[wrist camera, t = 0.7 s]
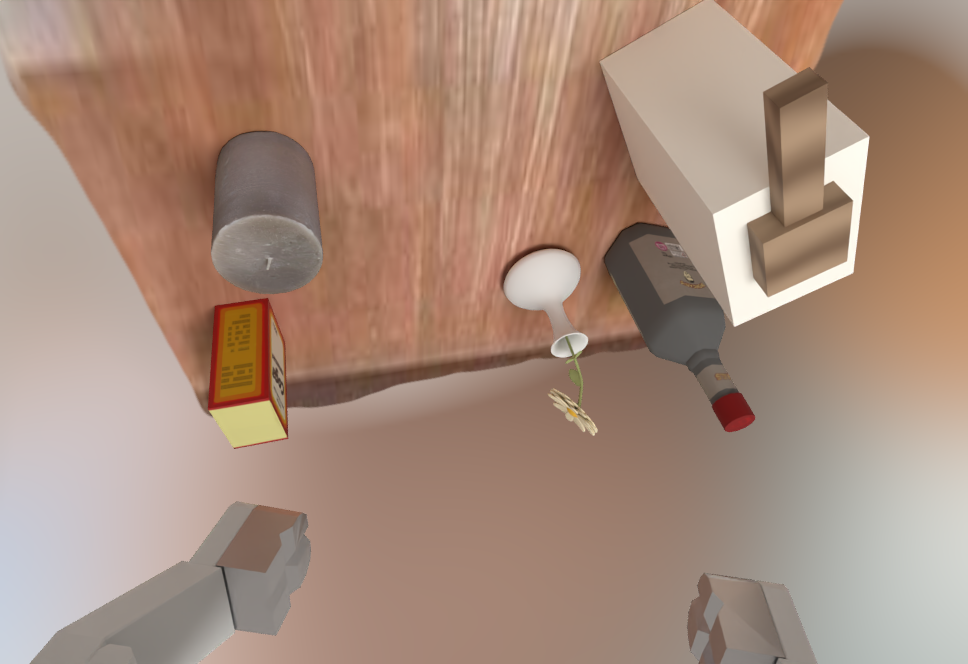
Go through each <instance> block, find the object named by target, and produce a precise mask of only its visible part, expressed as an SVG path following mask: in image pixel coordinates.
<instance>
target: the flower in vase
mask: <svg viewBox="0 0 968 664" xmlns="http://www.w3.org/2000/svg"><path fill="white" fill-rule="evenodd" d="M580 272H581V267H580V263H579V261H578V259H577V258H576V257H575V256H574V255H572V254H571V253H569V252H567V251H564V250H560V249H544V250H539V251H536V252H533V253H531V254H528V255H526V256H525V257H523V258H522V259H520V260H519V261H518V262H517V263H515V264H514V265H513V267H512V268H511V269H510V270H509V272H508V274H507V276H506V278H505V281H504V293H505V295H506V297H507V298H508V299H509V300H510V301H511V302H512V303H513V304H514V305H516V306H518V307H520V308H524V309H528V310H545V311H546V313H547V314H548V316H549V318H550V321H551V324H552V328H553V333H554V341H553V344H552V347H551V353H552V354H553V355H554V356H556V357H569V356H573V357H572V358H570V359H569V360H567V361H566V363H569V362H571V361H572V360H574V362H575V364H576V367H577V370H578V372H577V371H576V370H573V369H570V370H569V376H570V379H571V380H572V381H573V382H574V383H575V384H576V385H577V386H580V393H579V400H578V404H576V403H575V402H573V401H572V400H571V399H570V398H569V397H568V396H567V395H565V394H563V393H562V392H560V391H558V390H556V389H554V388H552V389H553V390H550V392H551V394H548V396H549V397H551V398H552V399H553V400H555V401H556V402H558V403H556V402H554V403H553V405H554V406H555V407H557V408H559V409H561V411H562V412H564V413H566V414H565V417H566V418H567V419H568V420H569V421H572V420H574V422H575V423H576V424H577V425H578V426H579V428H580V429H581V430H582V431H583V432H585V428H586V429H587V430H588V431H589V432H590V433H591V434H592V435H593V436H594V435H595V433H596V432H597V428H596V426H595V424H594V423H593V421H592V420H591V419H590V417H589V416H588V415H587V414H586V413H585V412H584V411H583V410H582V409H581V407H580V406H581V400H582V391H583V380H582V376H581V372H580V368H579V365H578V362H577V360H576V358H577V357H578V356H579V355H580V354H581V352H582V351H581V350H583V349H584V348H585V347H586V345H587V343H588V338H587V336H586V335H585V334H583V333H580V332H578V331H577V330H576V329H575V328H574V327H573V326H572V325H571V323H570V321H569V320H568V318H567V316H566V314H565V312H564V309H563V305H562V302H563V301H564V300H565V299H566V298H568V297H569V296H570V295H571V293H572V292H573V291H574V289H575V288H576V286H577V284H578V282H579V279H580ZM584 427H585V428H584Z"/></svg>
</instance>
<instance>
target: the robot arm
mask: <svg viewBox="0 0 968 664" xmlns="http://www.w3.org/2000/svg"><path fill="white" fill-rule="evenodd" d="M307 527H308V521H307V515H306V514H304V513H301V512H295V511H290V510H284V509H279V508H273V507H268V506H261V505H255V504H249V503H243V502H235V503H234V504H232V505H231V506H230V507H229V508H228V509H227V510H226V512H225V513H224V515H223V516H222V517H221V518H220V520H219V521H218V523H217V524H216V525H215V527H214V528H213V529H212V531H211V532H210V534H209V535H208V536H207V538H206V539H205V540H204V542H203V543H202V544H201V546H200V547H199V549H198V550H197V551H196V553H195V554H194V555H193V557H192V558H191V559H190V561H189V562H184V561H181V562H179V563H178V564H176V565H174V566H172V567H171V568H169V569H167V570H166V571H163V572H162V573H160V574H158V575H156V576H155V577H153V578H151V579H149V580H148V581H146V582H144V583H142V584H140V585H139V586H137V587H135V588H134V589H132V590H130V591H128V592H126V593H125V594H123V595H121V596H119V597H118V598H116V599H114V600H112V601H111V602H109V603H107V604H105V605H103V606H102V607H100V608H98V609H96V610H95V611H93V612H91V613H89V614H88V615H86V616H84V617H82V618H81V619H79V620H77V621H75V622H73V623H72V624H70V625H68V626H66V627H65V628H63V629H61V630H59V631H58V632H57V633H56V634H55V635H54V636H53V637H52V638H51V640H50V641H49V642H48V643H47V644H46V645H45V646H44V648H43V649H42V650H41V651H40V652H39V653H38V655H37V656H36V657H35V658H34V659H33V660H32V661H31V663H30V664H198V663H199V662H200V661H201V660H203V659H204V658H205V657H206V656H207V655H208V654H210V653H211V652H212V651H213V650H215V649H216V648H217V647H218V646H220V645H221V644H222V643H223V642H224V641H225V640H226V639H228V638H229V637H230V636H231V635H233V634H234V633H235V630H240V631H247V632H255V633H261V634H269V635H277V633H278V631H279V629H280V627H281V625H282V623H283V621H284V619H285V617H286V615H287V613H288V611H289V609H290V607H291V604H290V596H289V595H290V594H291V593H292V592H294V591H295V590H297V589H298V588H300V586H301V584H302V582H303V580H304V578H305V576H306V573H307V569H308V566H309V562H310V554H311V546H310V541H309V539H308V538H307V537H306V536H305V535H304V533H305V531H306V529H307ZM697 587H698V592H699V597H697V598H696V599H694V600H692V602H691V605H690V609H689V612H688V624H687V629H688V641H689V646H690V651H691V653H692V654H693V655H694V656H695V657H696V659H697V660H698V661H699V664H817V661H816V658H815V656H814V653H813V651H812V648H811V646H810V643H809V641H808V638H807V636H806V633H805V631H804V628H803V626H802V623H801V621H800V618H799V616H798V613H797V611H796V608H795V606H794V603H793V601H792V598H791V595H790V593H789V591H788V589H787V588H786V587H785V586H784V584H777V583H770V582H764V581H755V580H752V579H744V578H737V577H730V576H723V575H716V574H708V573H703V575H702V576H701V577H700V579H699V582H698V585H697Z"/></svg>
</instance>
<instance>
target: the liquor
mask: <svg viewBox="0 0 968 664" xmlns="http://www.w3.org/2000/svg"><path fill="white" fill-rule="evenodd" d="M605 264H606V266H607V269H608V271H609V274H610V276H611V277H612V279H613V281H614V283H615V285H616V287H617V289H618V291H619V293H620V295H621V297H622V299H623V301H624V302H625V304H626V306H627V308H628V310H629V312H630V314H631V316H632V318H633V320H634V322H635V324H636V326H637V327H638V329H639V331H640V333H641V335H642V337H643V339H644V341H645V343H646V345H647V347H648V349H649V350H650V352H651V353H653V354H654V355H655V356H656V357H659V358H662V359H666V360H669V361H673V362H676V363H679V364H683V365H686V366H687V367H688V369H689V370H690V371H691V372H693V373H694V375H695V377H696V378H697V380H698V381H699V383H700V385H701V387H702V388H703V390H704V392H705V394H706V395H707V397H708V399H709V401H710V402H711V404H712V408H713V410H714V412H715V414H716V416H717V417H718V419H719V421H720V422H721V424H722V426H723V428H724V430H725V431H727V432H733V431H738V430H740V429H743V428H745V427H747V426H748V425H750V424H751V423H752V422H753V421H754V420H755V415H754V414H753V412H752V411H751V409H750V407H749V405H748V404H747V402H746V400H745V399H744V397H743V395H742V394H741V393H739V392H738V390H737V388H736V386H735V385H734V383H733V381H732V380H731V378H730V376H729V375H728V373H727V371H726V369H725V368H724V366H723V364H722V363H721V361H720V358H719V353H718V348H719V345H720V342H721V339H722V336H723V332H724V330H725V319H724V313H723V309H722V307H721V306H720V304H719V303H718V301H717V300H716V298H715V297H714V295H713V294H712V292H711V291H710V289H709V288H708V286H707V285H706V283H705V281H704V280H703V278H702V277H701V275H700V274H699V272H698V271H697V269H696V268H695V266H694V265H693V263H692V262H691V260H690V259H689V257H688V256H687V254H686V252H685V251H684V249H683V248H682V246H681V245H680V243H679V242H678V240H677V239H676V237H675V236H674V234H673V233H672V231H671V230H670V229H669V228H666V227H660V226H654V225H648V224H642V223H638V224H636V225H634V226H631V227H629V228H627V229H625V230H623V231H622V232H621V234H620V235H619V237H618V238H617V240H616V241H615V243H614V244H613V246H612V247H611V249H610V250H609V251H608V253H607V254H606V256H605Z"/></svg>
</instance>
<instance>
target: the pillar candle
mask: <svg viewBox="0 0 968 664" xmlns="http://www.w3.org/2000/svg"><path fill="white" fill-rule="evenodd" d="M211 256H212V261H213V264H214V267H215V268H216V270H217V271H218V272H219V274H220V275H221V276H222V277H223V278H224V279H226V280H227V281H229V282H230V283H231V284H233V285H235V286H236V287H239V288H241V289H243V290H247V291H250V292H256V293H260V294H277V293H286V292H289V291H292V290H295V289H298V288H301V287H303V286H304V285H306V284H307V283H309V282H310V281H311V280H312V279H313V278H314V277H315V276H316V275H317V273H318V272H319V270H320V268H321V265H322V260H323V249H322V239H321V230H320V221H319V211H318V202H317V193H316V182H315V173H314V167H313V163H312V161H311V159H310V157H309V155H308V153H307V152H306V151H305V149H304V148H303V147H302V146H300V145H299V144H298V143H297V142H295V141H294V140H293V139H291V138H289V137H287V136H285V135H282V134H280V133H276V132H251V133H245V134H241V135H238V136H237V137H234V138H233V139H231V140H230V141H229V142H228V143H227V144H226V145H225V146H224V147H223V148H222V150H221V152H220V155H219V158H218V162H217V169H216V177H215V198H214V215H213V231H212V247H211Z"/></svg>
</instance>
